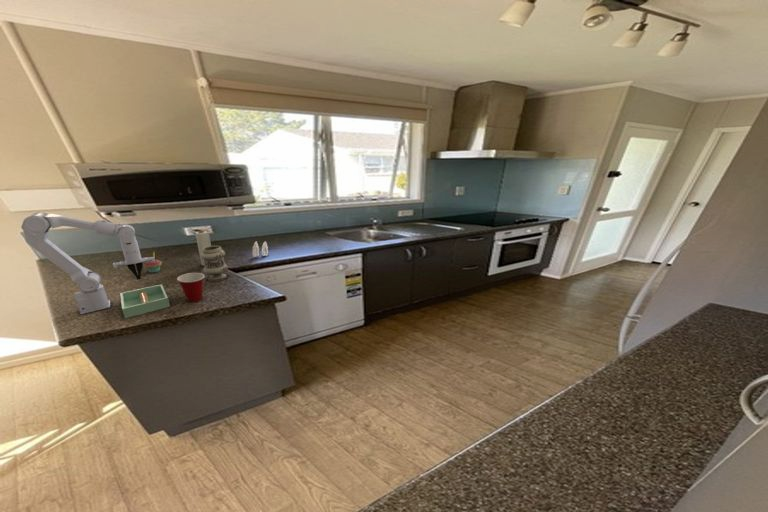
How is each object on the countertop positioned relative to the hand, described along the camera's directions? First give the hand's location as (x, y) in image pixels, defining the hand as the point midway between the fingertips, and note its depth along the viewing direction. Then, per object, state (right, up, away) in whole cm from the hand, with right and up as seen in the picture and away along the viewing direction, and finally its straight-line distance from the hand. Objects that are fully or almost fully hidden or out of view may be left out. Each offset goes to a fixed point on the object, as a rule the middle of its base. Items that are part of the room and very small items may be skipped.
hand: (138, 278), depth 134 cm
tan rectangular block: (+5, -9, -3) cm, 11 cm away
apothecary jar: (+21, -2, +28) cm, 35 cm away
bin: (+6, -12, -3) cm, 13 cm away
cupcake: (-21, +2, +35) cm, 40 cm away
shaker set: (+30, -4, +21) cm, 37 cm away
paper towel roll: (+3, +5, +47) cm, 47 cm away
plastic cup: (+25, -10, +3) cm, 27 cm away
